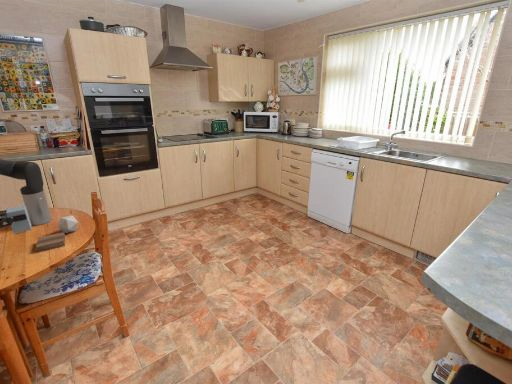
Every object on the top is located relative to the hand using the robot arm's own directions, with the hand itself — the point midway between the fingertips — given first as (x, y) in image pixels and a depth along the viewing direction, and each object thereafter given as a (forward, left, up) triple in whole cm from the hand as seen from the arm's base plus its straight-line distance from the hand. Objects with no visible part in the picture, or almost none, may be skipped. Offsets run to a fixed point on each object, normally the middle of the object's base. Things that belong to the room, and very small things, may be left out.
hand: (26, 214), depth 110 cm
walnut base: (-8, +4, -20) cm, 22 cm away
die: (-19, +10, -20) cm, 29 cm away
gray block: (0, -2, -6) cm, 7 cm away
